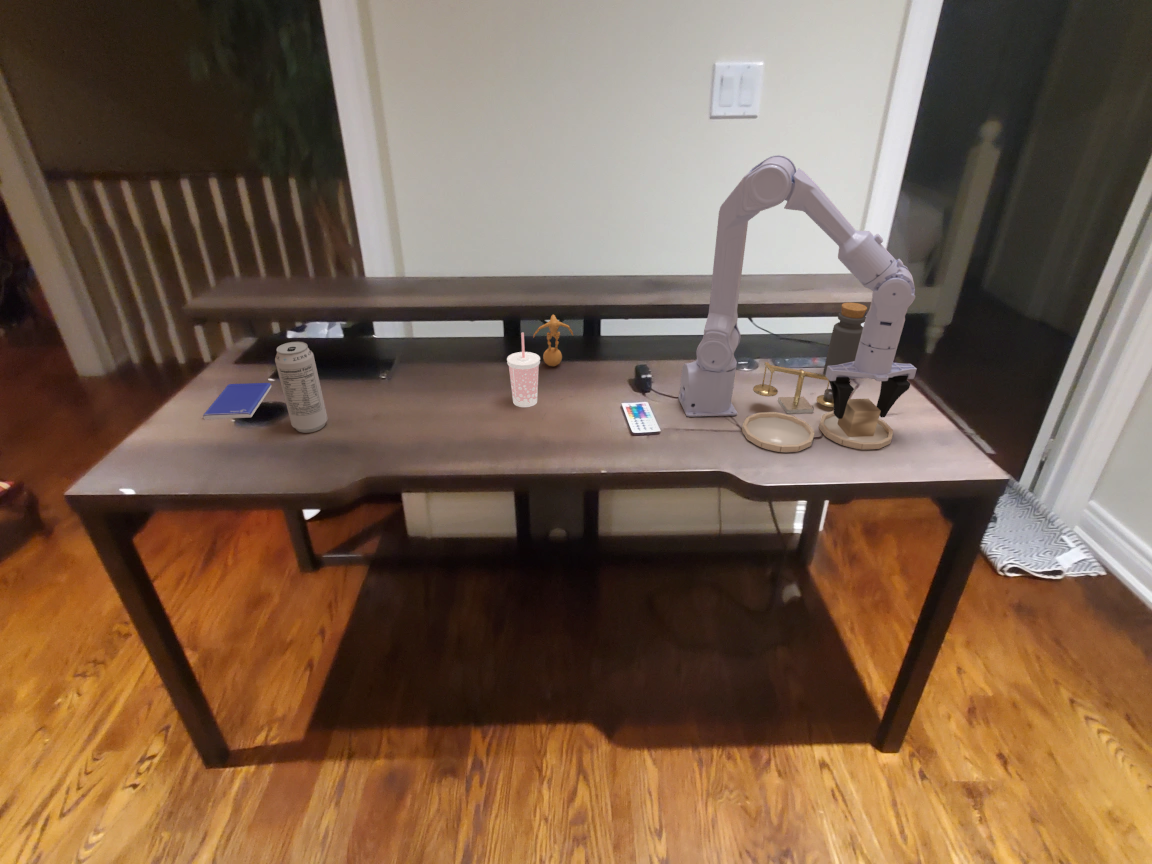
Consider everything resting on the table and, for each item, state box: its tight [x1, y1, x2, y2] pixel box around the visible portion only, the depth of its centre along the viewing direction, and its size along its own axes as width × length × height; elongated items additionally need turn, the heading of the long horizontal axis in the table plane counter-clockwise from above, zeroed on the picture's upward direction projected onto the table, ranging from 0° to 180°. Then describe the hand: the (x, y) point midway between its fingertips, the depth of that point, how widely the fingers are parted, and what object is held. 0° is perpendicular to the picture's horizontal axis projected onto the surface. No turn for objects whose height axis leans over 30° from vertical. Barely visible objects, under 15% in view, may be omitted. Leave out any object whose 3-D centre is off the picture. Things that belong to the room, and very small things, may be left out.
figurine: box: [532, 314, 574, 367], centre depth 132 cm, size 8×6×12 cm
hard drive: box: [202, 382, 272, 420], centre depth 120 cm, size 2×8×12 cm
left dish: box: [741, 411, 815, 453], centre depth 111 cm, size 12×12×1 cm
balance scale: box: [752, 361, 834, 415], centre depth 119 cm, size 17×5×9 cm, turn 94°
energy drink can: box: [274, 341, 328, 434], centre depth 109 cm, size 6×6×15 cm
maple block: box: [837, 398, 881, 437], centre depth 111 cm, size 4×4×5 cm
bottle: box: [823, 302, 868, 381], centre depth 129 cm, size 6×6×15 cm
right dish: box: [818, 410, 894, 451], centre depth 112 cm, size 12×12×1 cm
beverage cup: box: [506, 332, 541, 408], centre depth 118 cm, size 6×6×14 cm
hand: (859, 415), depth 111 cm, fingers open, 7 cm apart
